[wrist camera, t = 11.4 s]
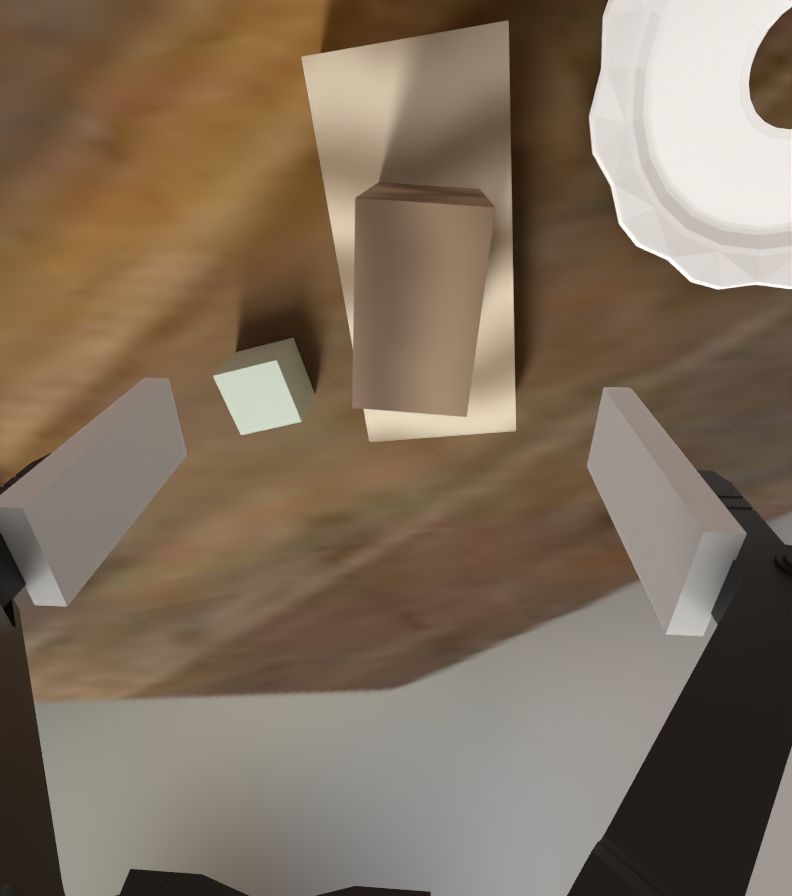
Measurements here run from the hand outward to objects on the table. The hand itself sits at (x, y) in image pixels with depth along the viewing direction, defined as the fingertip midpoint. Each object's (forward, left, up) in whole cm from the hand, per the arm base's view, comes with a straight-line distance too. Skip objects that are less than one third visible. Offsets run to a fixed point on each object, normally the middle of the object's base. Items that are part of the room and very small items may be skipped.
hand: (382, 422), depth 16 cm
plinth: (0, -1, -25) cm, 25 cm away
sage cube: (-9, +11, -25) cm, 29 cm away
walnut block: (0, -1, -20) cm, 20 cm away
